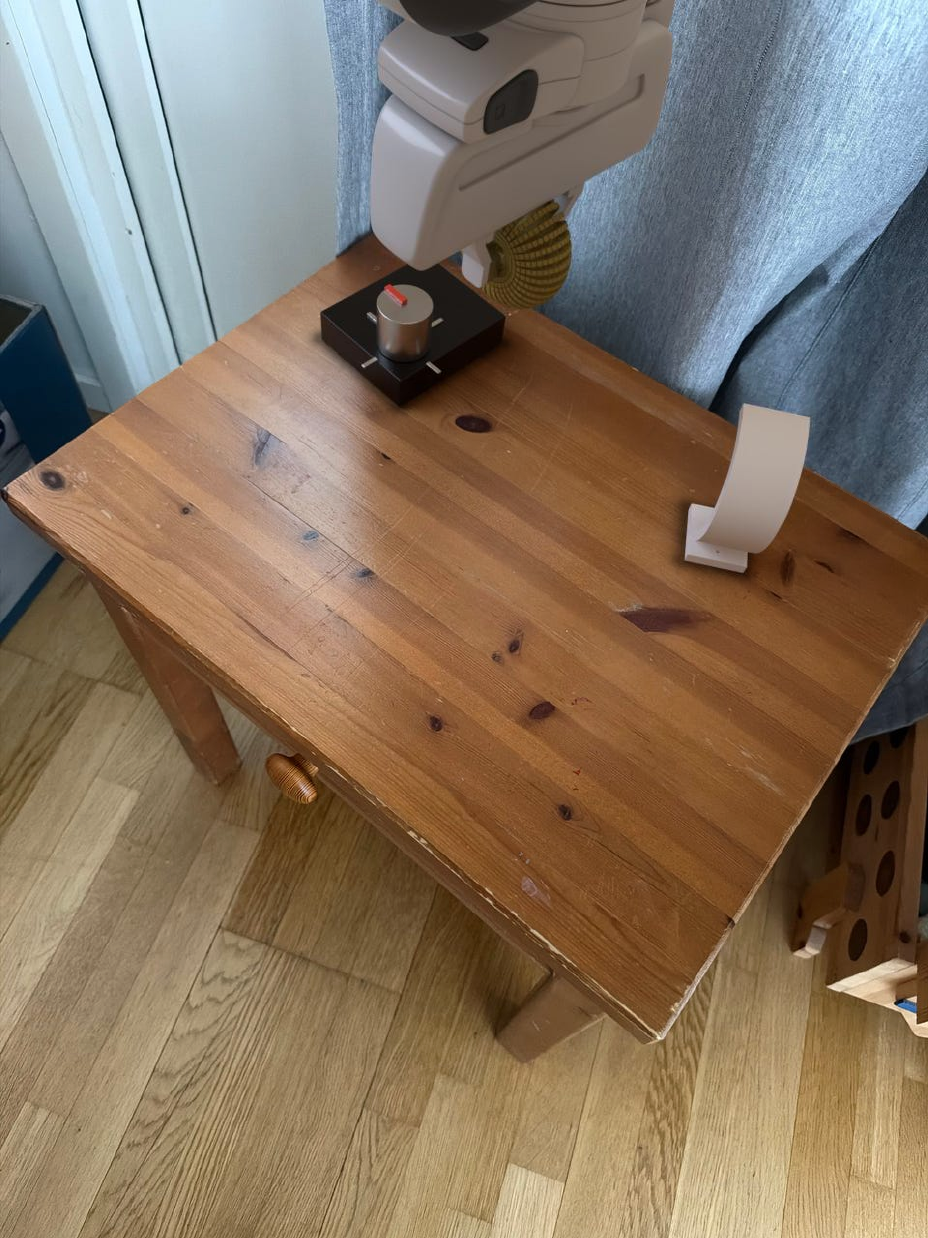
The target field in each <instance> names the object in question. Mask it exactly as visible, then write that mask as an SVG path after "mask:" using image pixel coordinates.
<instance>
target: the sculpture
mask: <svg viewBox="0 0 928 1238" xmlns="http://www.w3.org/2000/svg"><path fill="white" fill-rule="evenodd" d="M554 201H555V200H554V199H553V200H551V201H549V202H547V203H545V204H544V205H542V206H540V207H538V208H536V209H534V210H533V211H531V212H529V213H527V214H525V215H524V216H522V217H520V218H518V219H516V220H515V221H513V222H511V223H509V224H507V225H506V226H504V227H502V228H500V229H498V230H497V231H495V232H494V237H493V240H492V241H491V242H490V243H488V244H487V243H486V245H487V246H488V247H489V250H492V251H495V252H496V253H497V254H498V255H500V256H501V262H500V267H499V269H498V271H499V275H498V277H497V278H495V279H493V280H492V281H490V282H488V283H487V284H486V285H484V286H482V287H481V290H482V292H484V294H485V295H487V296H488V297H489V298H490V299H492V300H494V301H495V302H497V303H498V304H500V305H503V306H504V307H505V306H506V307H508V308H511V309H516V310H518V309H521V310H523V309H526V310H528V309H532V308H535V307H539V306H542V305H544V304H545V303H546V302H549V301H550V300H551V299H553V298H554V297H555V295H556V294H557V293H558V292H559V291H560V290H561V289H562V288H563V285H564V283H565V282H566V280H567V278H568V276H569V272H570V270H571V265H572V259H573V258H572V256H573V251H572V249H573V245H572V240H571V239H572V237H571V232H570V230H569V224H568V221H567V220H566V219H565V220H561V221H558V220H560V219H562V218H563V217H564V214H563V212H560V213H558V214H556V215H555V216H553V215H554V214H555V213H556V212H557V211H558V210H559V208H560V206H559V205H558V203H557V202H554ZM552 216H553V217H552ZM557 221H558V222H557ZM460 253H461V255H462V257H463V251H462V250H460Z"/></svg>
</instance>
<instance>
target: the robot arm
mask: <svg viewBox="0 0 928 1238" xmlns="http://www.w3.org/2000/svg"><path fill="white" fill-rule="evenodd" d="M374 1H376V2H377V3H378V4H380V5H382V6H383V7H385V8H386V9H388V10H390V12H392V13H394V14H396V15H397V16H399V17H401V18H402V19H404V21H402V22H401V23H400V24H399V25H397V26H396V27H395V28H394V29H392V30H391V31H390V32H389V33H388V34H387V35H386V36H385V38H384V39H383V40H382V41H381V43H380V45H379V48H378V52H377V58H376V59H377V61H376V62H377V65H376V66H377V67H376V68H377V75H378V79H379V81H380V82H381V84H382V85H383V86H385V87H386V88H387V89H388V90H389V91H390V92H391V93H392V94H391V95H390V96H389V98H388V99H387V100H386V101H385V103H384V104H383V106H382V108H381V110H380V113H379V115H378V118H377V120H376V124H375V128H374V134H373V138H372V139H373V140H372V151H371V161H370V163H371V166H370V181H369V182H370V185H369V186H370V187H369V210H370V211H369V212H370V213H369V214H370V216H369V217H370V224H371V229H372V232H373V233H374V236H376V238H377V240H378V241H379V242H380V243H381V244H382V245H383V246H384V247H385V248H386V249H387V250H388V251H389V252H391V253H392V254H393V255H395V257H396V258H398V259H400V260H401V261H403V262H404V263H405V264H408V265H410V266H411V267H413V268H415V269H416V270H420V271H422V270H426V269H428V268H430V267H432V266H434V265H435V264H437V263H439V264H440V263H441V262H443V261H444V260H446V259H448V258H449V257H451V256H453V255H455V254H457V253H459V252H461V250H462V251H463V256H462V263H461V274H462V276H463V277H464V279H465V280H467V282H469V283H471V284H472V285H473V286H474V287H476V288H478V289H480V288H481V287H482V286H484V285H486V284H487V283H488V282H490V281H492V280H493V279H495V278H497V277H498V275H499V271H498V269H499V267H500V262H501V256H500V255H498V254H497V253H496V252H495V251H492V250H489V247H488V246H487V245H486V243H487V244H488V243H490V242H491V241H492V240H493V237H494V232H495V231H497V230H498V229H500V228H502V227H504V226H506V225H507V224H509V223H511V222H513V221H515V220H516V219H518V218H520V217H522V216H524V215H525V214H527V213H529V212H531V211H533V210H534V209H536V208H538V207H540V206H542V205H544V204H545V203H547V202H549V201H551V200H553V199H554V200H555V201H554V202H557V203H558V205H559V206H560V208H559V210H558V211H557V212H556V213H555V214H554V215H553V216H555V215H556V214H558V213H560V212H563V214H564V217H563V218H562V219H560V220H558V221H561V220H566V219H567V217H568V216H569V214H570V213H571V212H572V209H573V208H574V205H575V204H576V202H578V199H579V198H580V196H581V195H582V193H583V192H584V186H585V182H587V181H589V180H590V179H592V178H594V177H596V176H598V175H600V174H602V173H604V172H605V171H607V170H609V169H611V168H612V167H614V166H615V165H618V164H619V163H621V162H623V161H625V160H627V159H628V158H630V157H632V156H634V155H636V154H637V153H639V152H641V151H642V150H644V149H645V148H646V146H647V145H648V143H649V141H650V140H651V138H652V137H653V135H654V134H655V132H656V130H657V128H658V124H659V123H660V118H661V112H662V111H663V106H664V99H665V96H666V91H667V85H668V81H669V76H670V71H671V65H672V57H673V47H674V43H673V35H672V33H671V31H670V23H671V21H672V16H673V13H674V9H675V3H676V0H374ZM553 216H552V217H553ZM558 221H557V222H558Z"/></svg>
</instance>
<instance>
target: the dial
mask: <svg viewBox="0 0 928 1238" xmlns="http://www.w3.org/2000/svg"><path fill="white" fill-rule="evenodd" d="M432 319H433V301H432V299H431V297H430V296H429V295H428V294H427V293H426V292H425V291H424V290H422V289H420V288H418V287H415V286H411V285H395V286H391V285H390V284H389V285H387V286H385V287H384V291H383V292H381V294H380V295H379V297H378V299H377V331H376V343H377V347H378V349H379V351H380V352H381V353H382V354H383V355H384V356H386V357H387V358H389V359H391V360H394V361H398V362H412V361H416V360H419V359H421V358H422V357H424V356H425V355H426V354H427V352H428V351H429V349H430V344H431V331H432Z"/></svg>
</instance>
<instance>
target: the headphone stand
mask: <svg viewBox="0 0 928 1238" xmlns="http://www.w3.org/2000/svg"><path fill="white" fill-rule="evenodd" d="M738 413H739V414H738V424H737V431H736V437H735V441H734V447H733V452H732V456H731V460H730V463H729V467H728V470H727V474H726V477H725V479H724V483H723V486H722V489H721V491H720V494H719V497H718V499H717V502H716V504H715V506H714V507H711V506H707V505H702V504H697V503H691V504H690V506H689V509H688V512H687V513H688V514H687V526H686V527H687V528H686V539H685V552H684V561H686V562H689V563H694V564H699V565H703V566H704V565H705V566H709V567H714V568H719V569H722V570H727V571H731V572H737V573H742V574H744V572H745V571H746V570H747V568H748V553H751V554H760V553H762V552H764V551H765V549H767V548H768V547H769V545H771V543H772V542H773V541H774V539H775V538H776V536H777V534H778V533H779V531H780V529H781V527H782V525H783V523H784V521H785V520H786V518H787V516H788V513H789V511H790V508H791V506H792V504H793V500H794V499H795V498H794V497H795V495H796V493H797V490H798V486H799V483H800V479H801V476H802V473H803V469H804V464H805V460H806V455H807V449H808V446H809V445H808V444H809V438H810V426H811V425H810V424H811V417H810V416H805V415H800V414H796V413H791V412H787V411H782V410H777V409H773V408H768V407H763V406H759V405H754V404H749V403H746V402H744V403H743V404H742V406H741V408H740V409H739V412H738Z"/></svg>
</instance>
